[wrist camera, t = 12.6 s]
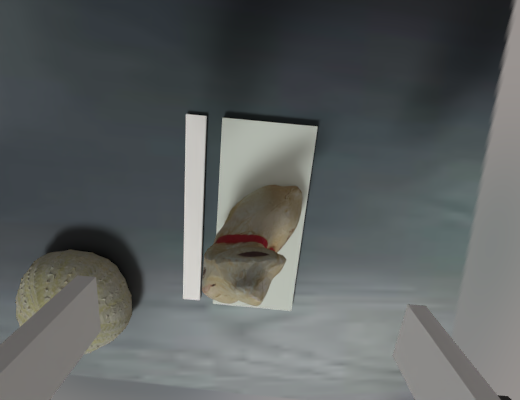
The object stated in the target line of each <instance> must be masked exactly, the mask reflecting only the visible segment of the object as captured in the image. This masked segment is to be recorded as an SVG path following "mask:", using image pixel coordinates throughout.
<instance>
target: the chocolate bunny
mask: <svg viewBox="0 0 520 400" xmlns="http://www.w3.org/2000/svg"><path fill="white" fill-rule="evenodd" d="M302 199H303V197H302V192H301V190H300V189H299V187H298V186H278V185H267V186H264V187H261V188H259V189H257V190H255V191H253V192H252V193H250V194H249V195H247V196H245V197H243V199H242V200H241V201H239V202H238V203H237V204H236V205H235V206H234V207H233V208H232V209H231V210H230V213H229V215H228V217H227V219H226V221H225V223H224V225H223V227H222V228H221V229H220V231H219V232H218V233H217V235H216V238H215V240H214V244H213V245H212V246H211V247H210V248H208V249H207V251H206V252H205V255H204V265H203V277H202V291H203V293H204V294H205V295H207V296H208V297H209V298H212V299H213V300H216V301H218V302H221V303H228V304H232V303H235V302H237V301H241V302H244V303H246V304H249V305H252V306H259V305H260V304H261V303H262V302H263V300H264V298H265V296H266V294H267V292H268V289H269V287H270V284H271V281H272V280H273V278H274V277H275V276H276V275H277V274H279V273H280V271H281V270H282V268H283V266H284V264H285V262H286V258H285V257H284V256H283V255H281V254H278V251H279V250H280V249H281V248H282V247H283V246H284V245H285V243H286V242H287V241H288V239H289V238H290V236H291V235H292V234H293V232H294V231H295V229H296V227H297V224H298V222H299V219H300V216H301V210H302Z"/></svg>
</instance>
